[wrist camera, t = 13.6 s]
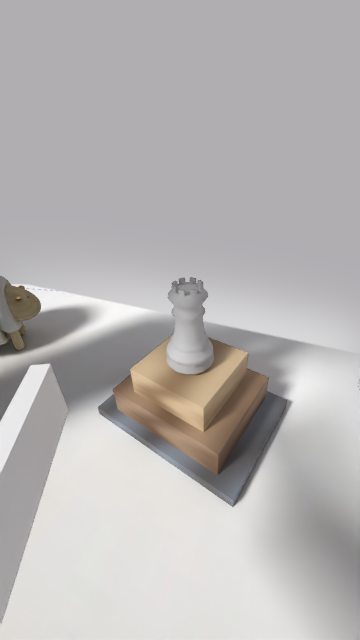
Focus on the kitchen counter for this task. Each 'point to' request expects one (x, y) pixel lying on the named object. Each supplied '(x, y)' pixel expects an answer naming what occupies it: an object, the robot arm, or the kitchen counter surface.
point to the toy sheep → (15, 312)
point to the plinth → (199, 416)
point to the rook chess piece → (189, 329)
